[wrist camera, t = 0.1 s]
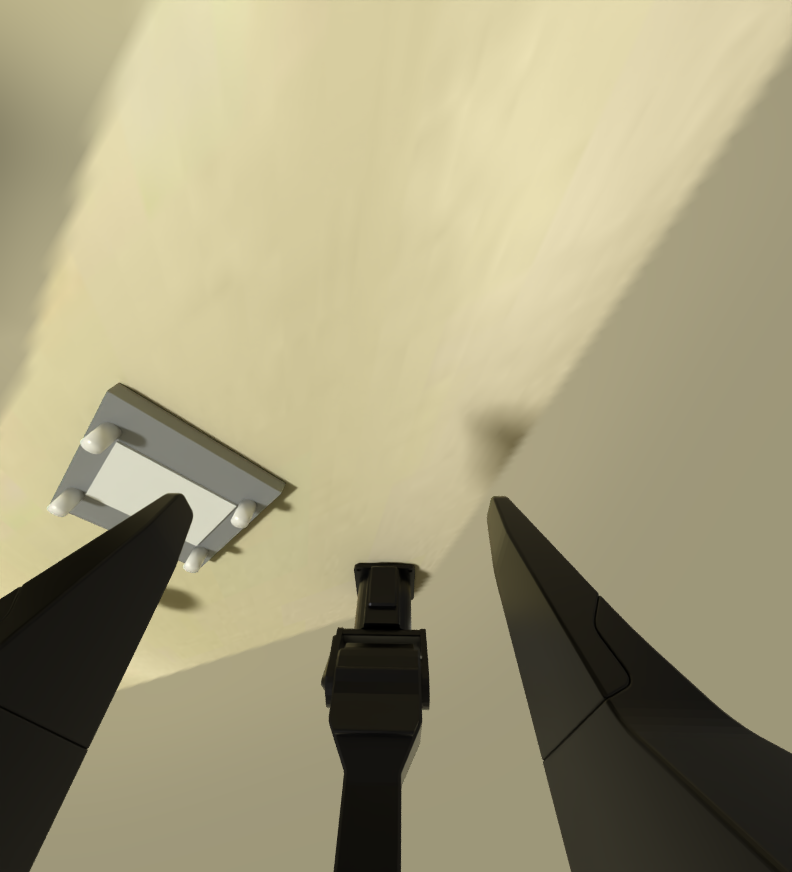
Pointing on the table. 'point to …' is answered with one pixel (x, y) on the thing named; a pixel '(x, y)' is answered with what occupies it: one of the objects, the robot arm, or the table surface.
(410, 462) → the table surface
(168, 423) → the mounting base
